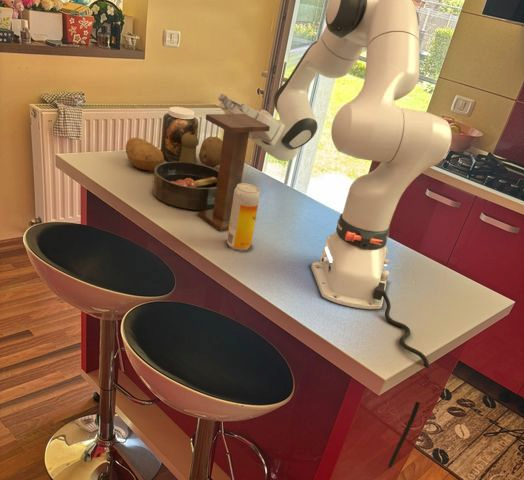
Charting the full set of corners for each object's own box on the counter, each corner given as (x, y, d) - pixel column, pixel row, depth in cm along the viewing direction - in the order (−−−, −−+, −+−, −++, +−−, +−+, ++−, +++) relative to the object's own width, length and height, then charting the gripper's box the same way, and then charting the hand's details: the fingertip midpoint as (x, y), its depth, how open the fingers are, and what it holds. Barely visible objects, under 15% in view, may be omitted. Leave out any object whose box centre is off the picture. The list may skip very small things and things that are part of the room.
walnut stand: (229, 210, 153) (244, 113, 137) (252, 225, 147) (270, 126, 132) (194, 216, 145) (205, 114, 130) (216, 231, 140) (231, 127, 125)
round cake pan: (218, 217, 147) (221, 194, 144) (145, 202, 147) (146, 178, 143) (228, 191, 164) (231, 170, 160) (162, 178, 163) (163, 156, 159)
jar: (153, 153, 180) (155, 105, 171) (182, 151, 187) (186, 104, 178) (172, 165, 173) (176, 116, 165) (202, 163, 180) (207, 116, 172)
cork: (195, 175, 170) (199, 139, 164) (175, 171, 169) (179, 135, 163) (197, 169, 175) (201, 134, 168) (178, 165, 174) (182, 130, 168)
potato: (145, 179, 160) (147, 151, 156) (117, 162, 167) (117, 136, 162) (171, 174, 167) (173, 148, 162) (143, 159, 173) (144, 133, 169)
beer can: (255, 248, 136) (266, 190, 127) (238, 253, 132) (248, 194, 123) (238, 238, 139) (247, 181, 130) (221, 243, 135) (229, 184, 126)
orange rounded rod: (212, 184, 160) (211, 170, 158) (219, 188, 158) (219, 174, 156) (163, 194, 153) (162, 180, 150) (170, 199, 150) (169, 185, 148)
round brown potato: (230, 169, 180) (235, 138, 175) (217, 175, 174) (221, 143, 168) (207, 161, 183) (210, 130, 177) (193, 167, 176) (196, 135, 170)
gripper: (243, 106, 163) (214, 80, 152) (289, 127, 152) (261, 101, 141) (232, 125, 164) (203, 100, 153) (276, 148, 153) (248, 123, 142)
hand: (231, 101), depth 147 cm, fingers open, 8 cm apart
